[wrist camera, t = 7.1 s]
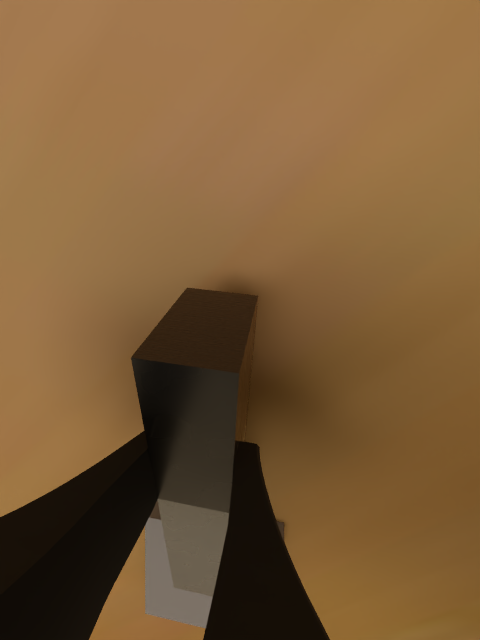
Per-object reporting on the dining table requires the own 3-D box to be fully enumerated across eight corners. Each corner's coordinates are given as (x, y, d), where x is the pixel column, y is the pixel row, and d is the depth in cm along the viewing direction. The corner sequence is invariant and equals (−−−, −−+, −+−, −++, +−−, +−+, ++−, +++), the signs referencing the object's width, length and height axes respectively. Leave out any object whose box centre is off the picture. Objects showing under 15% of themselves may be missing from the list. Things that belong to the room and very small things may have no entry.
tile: (284, 544, 15) (268, 643, 17) (283, 516, 17) (269, 609, 19) (145, 516, 16) (145, 613, 18) (157, 492, 18) (156, 583, 20)
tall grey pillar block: (187, 287, 10) (131, 357, 6) (258, 295, 10) (239, 373, 6) (197, 500, 17) (173, 587, 14) (238, 508, 17) (224, 599, 13)
